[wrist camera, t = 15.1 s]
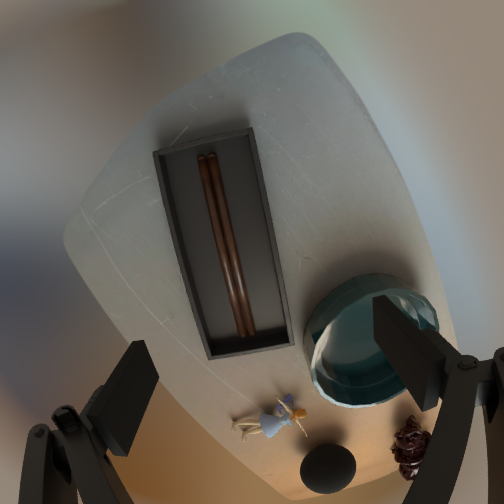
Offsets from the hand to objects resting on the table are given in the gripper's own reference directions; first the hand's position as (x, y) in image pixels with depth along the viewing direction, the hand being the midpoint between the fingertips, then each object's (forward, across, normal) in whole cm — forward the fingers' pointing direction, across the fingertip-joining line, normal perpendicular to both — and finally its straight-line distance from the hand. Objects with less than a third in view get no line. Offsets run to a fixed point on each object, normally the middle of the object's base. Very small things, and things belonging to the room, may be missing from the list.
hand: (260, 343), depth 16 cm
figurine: (+22, +22, -43) cm, 53 cm away
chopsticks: (+21, -3, +1) cm, 21 cm away
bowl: (+22, +13, -15) cm, 29 cm away
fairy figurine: (+22, -3, -27) cm, 35 cm away
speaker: (+22, +5, -40) cm, 46 cm away
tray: (+21, -3, +1) cm, 21 cm away
